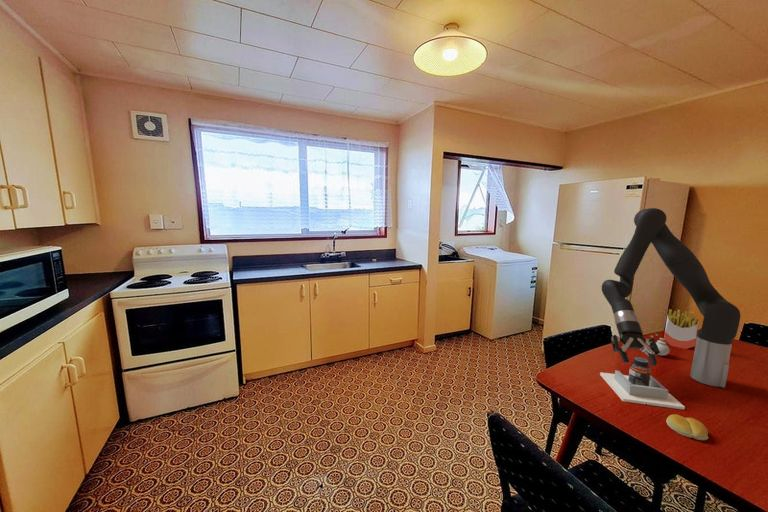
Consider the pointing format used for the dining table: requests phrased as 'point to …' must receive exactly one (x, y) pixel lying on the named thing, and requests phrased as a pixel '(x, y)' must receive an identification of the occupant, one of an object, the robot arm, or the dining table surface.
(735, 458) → the dining table surface
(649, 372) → the supplement bottle
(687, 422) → the bread roll
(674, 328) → the french fries container
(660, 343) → the ornament
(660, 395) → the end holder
